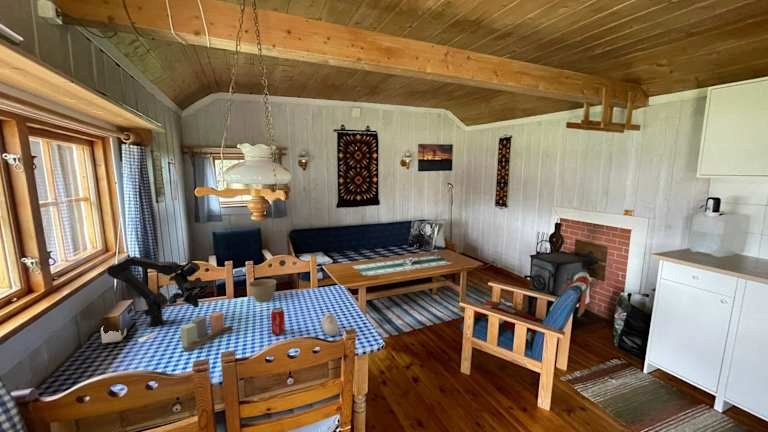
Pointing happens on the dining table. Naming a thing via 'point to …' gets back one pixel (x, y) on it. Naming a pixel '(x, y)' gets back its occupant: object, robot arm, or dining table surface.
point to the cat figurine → (330, 324)
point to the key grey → (200, 326)
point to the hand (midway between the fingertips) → (197, 307)
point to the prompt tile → (146, 337)
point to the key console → (207, 338)
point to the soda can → (277, 321)
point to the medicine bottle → (112, 336)
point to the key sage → (188, 334)
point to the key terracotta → (216, 322)
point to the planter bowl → (262, 289)
